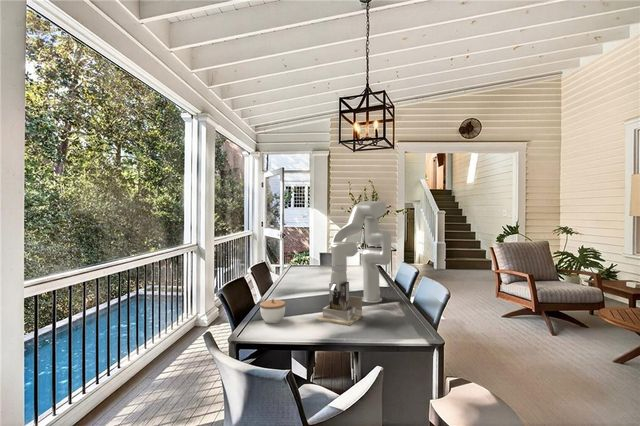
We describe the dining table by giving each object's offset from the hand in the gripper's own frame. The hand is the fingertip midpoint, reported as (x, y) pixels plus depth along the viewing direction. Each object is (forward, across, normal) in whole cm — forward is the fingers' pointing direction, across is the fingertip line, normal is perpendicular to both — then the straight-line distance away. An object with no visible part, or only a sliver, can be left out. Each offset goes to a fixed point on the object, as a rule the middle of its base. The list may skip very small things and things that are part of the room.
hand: (339, 302), depth 184 cm
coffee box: (+6, 0, 0) cm, 6 cm away
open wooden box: (+8, 0, 0) cm, 8 cm away
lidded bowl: (+8, +20, -27) cm, 35 cm away
